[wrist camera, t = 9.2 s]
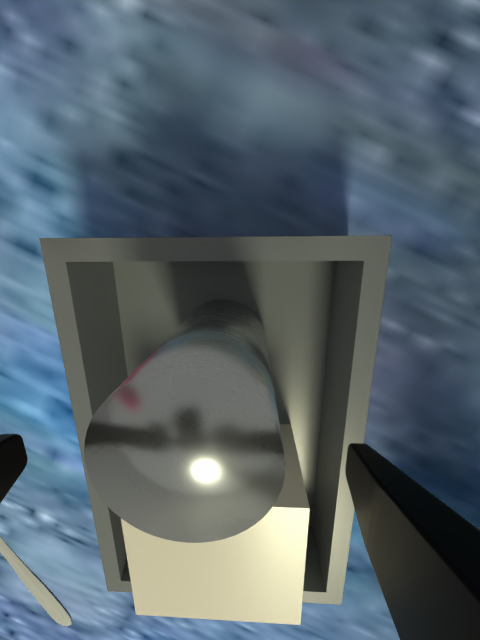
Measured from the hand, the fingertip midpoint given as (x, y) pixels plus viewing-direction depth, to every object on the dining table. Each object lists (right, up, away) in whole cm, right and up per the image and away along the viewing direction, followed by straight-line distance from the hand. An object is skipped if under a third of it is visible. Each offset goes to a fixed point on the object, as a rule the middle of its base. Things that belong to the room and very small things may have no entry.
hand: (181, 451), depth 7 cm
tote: (+1, -2, +11) cm, 12 cm away
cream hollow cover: (+1, -7, +12) cm, 14 cm away
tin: (+1, +2, +9) cm, 10 cm away
